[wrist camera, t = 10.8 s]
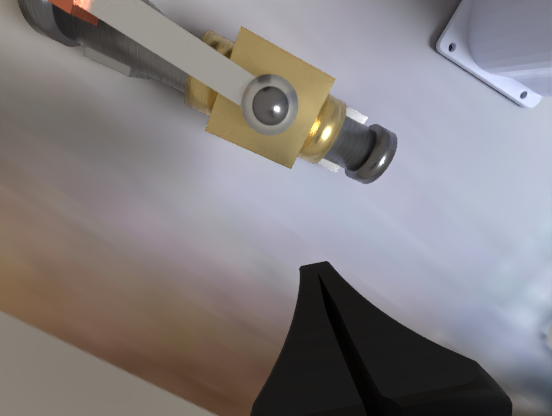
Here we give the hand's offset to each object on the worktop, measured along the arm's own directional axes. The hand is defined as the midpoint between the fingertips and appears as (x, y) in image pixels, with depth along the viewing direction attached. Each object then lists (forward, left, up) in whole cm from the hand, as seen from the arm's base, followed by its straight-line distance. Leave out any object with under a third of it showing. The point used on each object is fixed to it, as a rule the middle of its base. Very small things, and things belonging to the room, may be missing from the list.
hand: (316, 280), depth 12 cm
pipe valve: (+7, -6, -10) cm, 14 cm away
